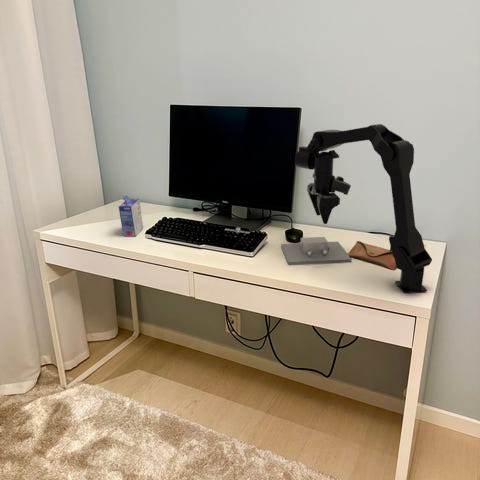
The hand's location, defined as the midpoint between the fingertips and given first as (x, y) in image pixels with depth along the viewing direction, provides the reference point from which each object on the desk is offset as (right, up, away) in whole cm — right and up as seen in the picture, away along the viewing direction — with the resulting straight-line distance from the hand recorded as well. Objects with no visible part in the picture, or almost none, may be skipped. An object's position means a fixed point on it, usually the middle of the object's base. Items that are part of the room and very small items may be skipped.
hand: (321, 219), depth 142 cm
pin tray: (-2, -11, +4) cm, 12 cm away
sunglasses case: (+17, -14, -2) cm, 22 cm away
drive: (-2, -10, +3) cm, 11 cm away
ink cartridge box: (-68, -4, +29) cm, 74 cm away
